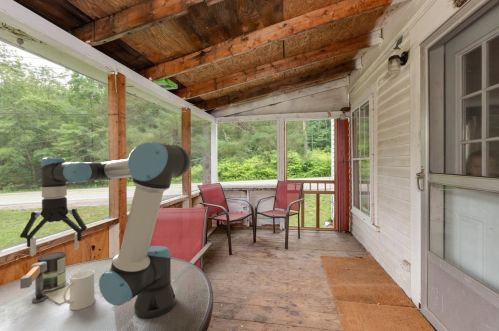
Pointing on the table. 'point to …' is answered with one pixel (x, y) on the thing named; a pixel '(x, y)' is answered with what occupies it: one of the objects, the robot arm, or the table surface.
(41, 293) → the post
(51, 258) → the coffee can
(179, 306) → the table surface
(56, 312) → the table surface
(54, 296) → the coaster
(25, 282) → the swing arm
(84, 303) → the mug
